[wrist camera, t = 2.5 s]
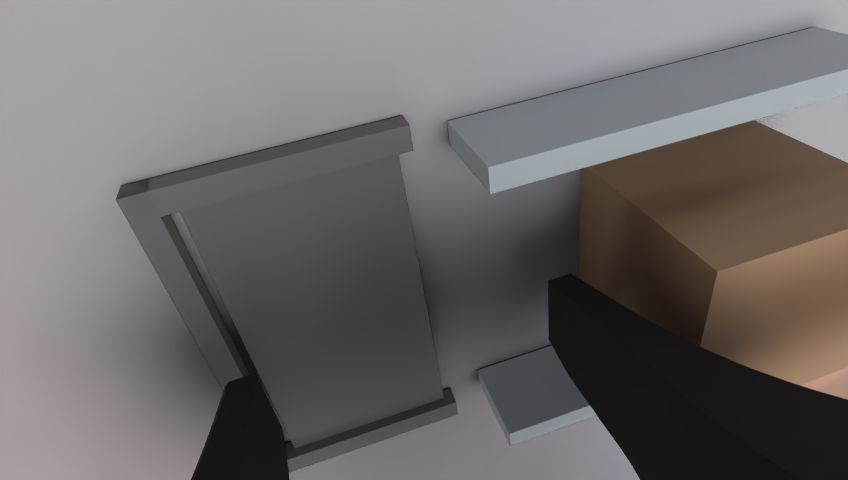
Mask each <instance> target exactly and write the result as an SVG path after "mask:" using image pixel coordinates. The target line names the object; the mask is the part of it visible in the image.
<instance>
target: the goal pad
mask: <svg viewBox="0 0 848 480" xmlns="http://www.w3.org/2000/svg"><path fill="white" fill-rule="evenodd" d="M800 386H804V387H807V388H810V389H813V390H816V391H820V392H823V393H827V394H830V395H834V396H837V397H840V398H844V399H847V400H848V367H847V368H845V369H842V370H839V371H837V372H834V373H831V374H829V375H826V376H823V377H821V378H818V379H815V380H813V381H810V382H807V383H805V384H802V385H800Z"/></svg>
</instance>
